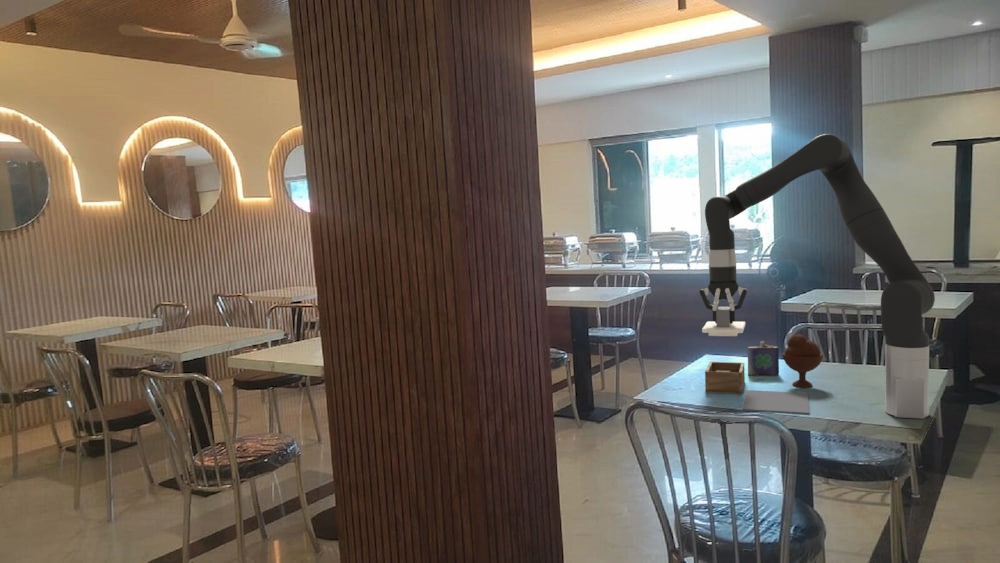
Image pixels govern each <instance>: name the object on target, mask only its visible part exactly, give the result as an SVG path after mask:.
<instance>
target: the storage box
mask: <svg viewBox="0 0 1000 563" xmlns="http://www.w3.org/2000/svg"><path fill="white" fill-rule="evenodd" d="M704 378H705V379H704V384H705V387H704V388H705V390H704V391H705V393H717V394H718V393H720V394H737V395H738V394H740V395H742V394H743V392H744V387H745V382H746V378H745V362H737V361H736V362H731V361H730V362H729V361H709V363H708V365H707V367H706V369H705V371H704Z"/></svg>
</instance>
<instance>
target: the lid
mask: <svg viewBox="0 0 1000 563" xmlns="http://www.w3.org/2000/svg"><path fill="white" fill-rule="evenodd" d="M716 319H717V323H715V321H713V320H712V321H710V320H709V321H706V323H705V324H704V326H703V327H702V328H701V333H704V334H708V337H738V334H743V333H744V330H745V328H746V321H734V322H733V324H730V306H718V308H717V310H716Z"/></svg>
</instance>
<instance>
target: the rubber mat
mask: <svg viewBox="0 0 1000 563" xmlns="http://www.w3.org/2000/svg"><path fill="white" fill-rule="evenodd" d="M808 397H809V396H808V392H796V391H795V392H794V391H777V390H776V391H774V390H773V391H772V390H753V389H746V390H745V395H744V398H743V399H744V400H743V405H742V407H741V408H742V411H748V412H762V413H763V412H765V413H780V414H783V413H784V414H797V415H798V414H800V415H810V414H811V412H810V411H811V410H810V404H809V403H810V402H809V398H808Z"/></svg>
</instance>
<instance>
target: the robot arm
mask: <svg viewBox="0 0 1000 563" xmlns="http://www.w3.org/2000/svg"><path fill="white" fill-rule="evenodd" d="M849 146H850V145H848V143H847V142H846V141H844V140H843V139H842V138H840V137H838V136H837V135H835V134H833V133H823V134H820V135H817V136H815V137H814V138H813V139H811V140H810V141H809V142H807V143H805V145H803V146H802V147H801V148H799V149H798V150H797V151H795V152H794V153H792V154H791V155H789V156H788V157H786V158H785V159H783V160H782V161H781V162H778V163H777V164H776V165H774V166H772V167H771V168H769V169H767V170H765V171H764V172H761V173H760V174H758V175H756V176H754V177H752V178H750V179H748V180H746V181H744V182H742V183H741V184H739V185H738V186H737V187H736V188H735V189H734V190H732V191H730V192H729V193H727V194H725V195H721V196H719V195H718V196H713V197H711V198H709V200H707V201H706V204H705V207H704V208H705V209H704V216H705V223H706V227H707V231H708V235H709V236H708V237H709V242H708V243H709V253H708V269H709V270H708V271H709V273H708V274H709V275H708V276H709V284H708V286H707V287H706V288H701V289H700V290H699V295H700V297H701V299H702V302H703V304H704V306H705V308H706V309H707V310H711V312H712V322H715V323H717V319H716V310H717V308H718V307H719V303H720V300H727V303H728V305H729V306H728V307H730V324H733V322H736V310H739V309H741V308H742V306H743V303H744V301H745V298H746V297H747V293H748V289H747V288H743V287H740V286H739V284H738V282H737V255H736V248H735V246H736V245H735V232H734V231H733V230H732V229H731V224H730V219H732V218H735V217H736V216H738V215H740V214H741V213H743V212H744V211H747V209H749V208H750V207H754V206H755V205H757V204H760V203H762V202H763V201H766V200H767V199H769V198H771V197H772V196H774V195H776V194H777V193H779V192H780V191H782V189H784V188H785V187H786V186H788V185H789V184H790V183H791V182H793V181H795V180H797V179H798V178H800V177H803V176H805V175H807V174H809V173H810V174H811V173H812V172H814V171H818V170H819V171H820V172H821V173H822V175H823V176H824V177H825V179H826V180H827V181H828V183H829V185H830V186H831V187H832V190H833V192H834V194H835V197H836V199H837V203H838V206H839V207H838V208H839V212H840V214H841V217H842V220H843V222H844V224H845V226H846V228H847V230H848V232H849V233H850V235H851V237H852V239H853V241H854V242H855V243H856V245H857V246H858V247H859V248H860V249H861V250H862V251H863V252H864V253H865V254H866V255H867V256H868V257H869V258H870V259H871V260H873V261H874V263H875V264H877V266H878V267H879V268H880V270H881V271H882V272H883V274H884V275H885V277H886V279H887V281H888V283H889V284H887V285H886V286H885V287H884V288H883V290H882V293H881V298H880V319H881V320H880V321H881V330H882V333H883V336H884V340H885V342H884V343H885V344H884V345H885V354H884V355H885V356H884V359H885V360H884V361H885V369H884V372H885V374H884V376H885V379H884V384H885V385H884V389H885V390H884V394H885V395H884V397H885V398H884V400H885V402H884V404H885V405H884V406H885V407H884V408H885V410H884V411H885V413H886V414H889V415H891V416H894V417H895V418H904V419H905V418H906V419H907V418H908V419H921V420H923V419H925V418H926V417H928V416H929V415H930V413H929V411H930V397H929V396H930V336H929V334H928V333H927V332H926V331H925V330H924V328H923V315H925V314H926V313H928V312H930V311H931V309H932V308H933V307H934V305H935V301H936V300H935V292H934V289H933V287H932V285H931V284H930V282H928V280H927V279H926V277H925V276H924V275H923V273H922V272H921V270H920V269H919V268H918V267H917V266H918V265H916V264H915V262H914V261H913V259H912V257H911V256H910V255H909V253H908V251H907V249H906V247H905V246H904V244H903V242H902V240H901V238H900V237H899V236H900V235H898V233H897V232H896V229H895V228H894V226H893V224H892V222H891V220H890V218H889V216H888V215H887V213H886V211H885V210H884V207H883V206H882V205H881V202H880V201H879V200H878V198H877V197H876V195H875V193H874V192H873V191H872V190H871V188H870V187H869V185H867V183H866V182H865V180H864V178H863V176H862V174H861V172H860V171H859V168H858V165H857V164H856V162H855V159H854V156H853V153H852V151H851V149H850V147H849ZM737 291H738V295H739V296H740V297H739V299H738V302H737V303H736V304H735V302H734V298H733V296H734V295H735V293H737ZM709 292H710V294H711V295H712V296H713V297H714V298H713V304H711V303H710V300H709V297H708V296H709Z"/></svg>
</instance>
